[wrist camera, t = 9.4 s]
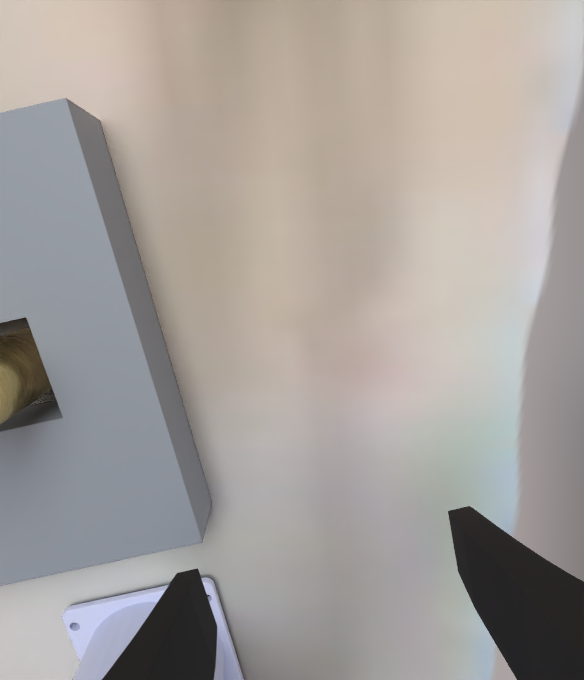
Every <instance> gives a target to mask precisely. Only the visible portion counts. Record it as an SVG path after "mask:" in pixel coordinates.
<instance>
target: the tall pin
mask: <svg viewBox="0 0 584 680" xmlns="http://www.w3.org/2000/svg"><path fill="white" fill-rule="evenodd" d="M51 389H52V386H51V384H50V381H49V378H48V376H47V373H46V370H45V367H44V365H43V362H42V359H41V356H40V354H39V351H38V348H37V346H36V343H35V340H34V337H33V335H32V332H31V329H30V327H29V328H22V329H19V330H17V331H14V332H11V333H9V334H6V335H3V336H1V337H0V425H1V424H2V423H4V422H5V421H6V420H8V419H9V418H11V417H12V416H14V415H15V414H16V413H18V412H19V411H21V410H22V409H24V408H25V407H27V406H28V405H29V404H31V403H32V402H34V401H35V400H37V399H38V398H39V397H41V396H42V395H44V394H45V393H47V392H48V391H50V390H51Z"/></svg>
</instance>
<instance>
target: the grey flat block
mask: <svg viewBox="0 0 584 680" xmlns="http://www.w3.org/2000/svg"><path fill="white" fill-rule="evenodd" d="M25 317H26V318H27V321H28V324H29V326H30V329H31V332H32V335H33V337H34V340H35V343H36V346H37V348H38V351H39V354H40V356H41V359H42V362H43V365H44V367H45V370H46V373H47V376H48V378H49V381H50V384H51V386H52V389H53V392H54V395H55V397H56V400H54V401H50V402H45V403H41V404H36V405H31V406H27V407H25V408H24V409H22V410H21V411H19V412H18V413H16V414H15V415H14V416H12V417H11V418H9V419H8V420H6V421H5V422H4V423H2V424H1V425H0V586H2V585H7V584H12V583H16V582H21V581H26V580H30V579H35V578H39V577H44V576H49V575H53V574H58V573H63V572H67V571H72V570H77V569H81V568H86V567H91V566H95V565H100V564H105V563H109V562H114V561H119V560H123V559H128V558H133V557H137V556H142V555H147V554H151V553H156V552H161V551H165V550H170V549H174V548H179V547H184V546H188V545H193V544H198V543H202V542H203V538H204V534H205V529H206V525H207V521H208V516H209V512H210V508H211V504H212V501H211V498H210V494H209V491H208V487H207V484H206V481H205V477H204V474H203V470H202V467H201V464H200V460H199V457H198V453H197V450H196V447H195V443H194V440H193V436H192V433H191V429H190V426H189V423H188V419H187V416H186V412H185V409H184V406H183V402H182V399H181V395H180V392H179V389H178V385H177V382H176V378H175V375H174V372H173V368H172V365H171V361H170V358H169V355H168V351H167V348H166V344H165V341H164V338H163V334H162V331H161V327H160V324H159V321H158V317H157V314H156V310H155V307H154V304H153V300H152V297H151V293H150V290H149V287H148V283H147V280H146V276H145V273H144V270H143V266H142V263H141V259H140V256H139V253H138V249H137V246H136V242H135V239H134V236H133V232H132V229H131V225H130V222H129V219H128V215H127V212H126V208H125V205H124V202H123V198H122V195H121V191H120V188H119V185H118V181H117V178H116V174H115V171H114V168H113V164H112V161H111V157H110V154H109V151H108V147H107V144H106V140H105V137H104V134H103V130H102V127H101V123H100V120H99V119H97V118H96V117H94V116H93V115H91V114H90V113H88V112H86V111H85V110H83V109H82V108H80V107H79V106H77V105H76V104H74V103H73V102H71V101H70V100H68V99H67V98H63V99H59V100H55V101H50V102H46V103H41V104H37V105H33V106H28V107H24V108H19V109H15V110H11V111H6V112H2V113H0V323H2V322H7V321H11V320H16V319H20V318H25Z"/></svg>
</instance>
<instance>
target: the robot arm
mask: <svg viewBox="0 0 584 680" xmlns="http://www.w3.org/2000/svg"><path fill="white" fill-rule="evenodd" d="M448 514H449V520H450V526H451V531H452V537H453V543H454V549H455V555H456V561H457V567H458V572H459V574H460V576H461V579H462V581H463V583H464V585H465V588H466V590H467V592H468V594H469V596H470V598H471V601H472V603H473V605H474V607H475V609H476V611H477V612H478V614H479V616H480V618H481V619H482V621H483V623H484V625H485V626H486V628H487V630H488V631H489V633H490V635H491V636H492V638H493V640H494V641H495V643H496V645H497V647H498V648H499V650H500V652H501V653H502V655H503V657H504V658H505V660H506V662H507V663H508V665H509V667H510V668H511V670H512V672H513V673H514V675H515V677H516V678H517V680H584V582H583V581H581V580H579V579H577V578H576V577H574V576H572V575H571V574H569V573H567V572H565V571H564V570H562V569H560V568H559V567H557V566H556V565H554V564H552V563H551V562H549V561H547V560H546V559H544V558H543V557H541V556H539V555H538V554H537V553H535V552H534V551H532V550H531V549H529V548H527V547H526V546H525V545H523V544H522V543H520V542H519V541H517V540H516V539H514V538H513V537H511V536H510V535H509V534H507V533H506V532H504V531H503V530H502V529H500V528H499V527H497V526H496V525H495V524H493V523H492V522H491V521H489V520H488V519H487V518H485V517H484V516H483V515H481V514H480V513H479V512H477V511H476V510H474V509H473V508H471V507H470V506H468V507H464V508H460V509H455V510H451V511H448ZM207 594H208V595H210V596H209V597H207ZM62 620H63V622H64V625H65V627H66V630H67V632H68V634H69V637H70V639H71V642H72V644H73V646H74V649H75V651H76V654H77V656H78V658H79V661H80V664H79V666H78V668H77V671H76V673H75V675H74V677H73V679H72V680H244V678H243V675H242V672H241V668H240V665H239V662H238V659H237V655H236V652H235V649H234V646H233V642H232V639H231V636H230V633H229V629H228V626H227V623H226V620H225V616H224V613H223V610H222V607H221V603H220V600H219V597H218V594H217V590H216V587H215V584H214V582H213V580H211V579H210V578H207V577H205V578H201V576H200V573H199V570H198V569H194V570H189V571H185V572H181V573H177V574H176V576H175V577H174V578H173V580H172V581H171V583H170V584H169V585H166V586H161V587H156V588H152V589H147V590H142V591H138V592H133V593H128V594H124V595H119V596H114V597H109V598H105V599H100V600H95V601H91V602H86V603H81V604H77V605H72V606H69V607H68V608H67V609H66V610H65V612H64V613H63V616H62ZM75 623H78V624H75Z"/></svg>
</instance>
